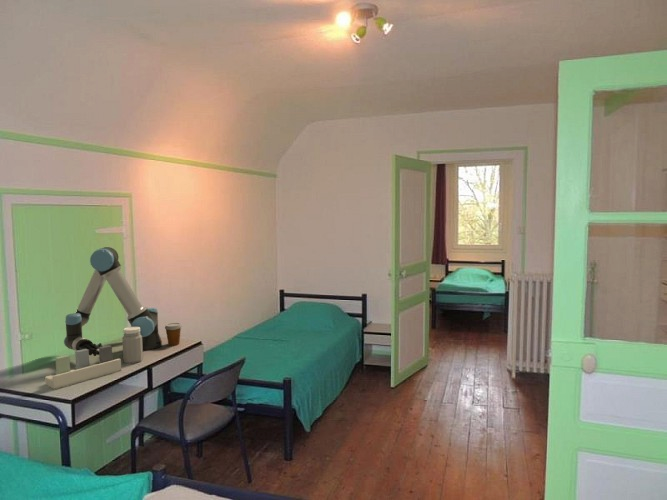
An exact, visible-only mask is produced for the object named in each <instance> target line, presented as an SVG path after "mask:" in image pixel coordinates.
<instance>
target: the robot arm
mask: <svg viewBox="0 0 667 500" xmlns="http://www.w3.org/2000/svg"><path fill="white" fill-rule="evenodd" d="M89 262H90V266H91V267H92V268H93V269H94V272H93V273H92V275H91V278H90V280H89V282H88V285H87V287H86V288H85V291H84V293H83V295H82V298H81V300H80V302H79V304H78V306H77V308H78V309H77V308H76V310H77V312H76V311H75V312H76V313H75V312H73V313H69V314H67V315H65V331H66V332H65V334H66V336H65V338H64V339H63V344H64V346H65V347H66V348H67V349H69V350H72V351H74V352H75V351H78V350H82V349H88V350H89V356H92V355H93V356H94V357H97V356H99V347H103V346H104V345H103V344H102V342H99V343H98V344H95V343H93V342H92V340H89V339H88V338H84V337H83V326H85V325H87V323H88V322H89V320H90V316H91V314H92V312H93V309H94V307H95V305H96V303H97V301H98V299H99V297H100V294H101V292H102V289H103V288H104V285H105V284H106V281H107V284H108V285H109V286H110V288H111V289H112V291H113V293H114V294H115V296H116V297H117V299H118V301H119V302H120V304H121V306H122V308H123V309H124V310H125V312H126V315H127V318H126V320H127V321H128V323H129V325H130V327H140V333H141V336H142V347H143V351H147V350H148V351H149V350H155V349H158V348H161V347H162V346H163V341H162V338H161V336H160V333H159V320H158V319H159V318H158V314H159V312H158V308H156V307H146V306H145V307H146V308H145V307H144V306H143V305H142V303H141V302H140V301H139V298H138V297H137V295H136V294H135V292H134V290H133V288H132V287H131V285H130V284H129V282H128V280H127V279H126V277H125V275H124V274H123V271H122V270H121V269H122V264H121V263H120V262H119V252H118V251H117V250H116V249H115V248H113V247H110V246H103V247H101V248H99V249H96V250H95V251H93V252H92V254H91V256H90V259H89Z"/></svg>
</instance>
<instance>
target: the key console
mask: <svg viewBox="0 0 667 500" xmlns="http://www.w3.org/2000/svg"><path fill="white" fill-rule="evenodd" d="M121 371H122V360H121V358H116V359H113V360H112V361H108V362H104V363H100V362H99V363H97V364H96V363H92V364H89V367H85V368H81V369H77V370H76V369H70V371H69V372H66V373H62V374H58V375H56V374H55V375H53V374H52V375H47V376H45V377H44V379H45V380H44V381H45V385H46V386H48V387H50V388H51V389H53V390H58V389H61V388H65V387H69V386H71V385H76V384H80V383H83V382H86V381H90V380H94V379H97V378H101V377H103V376H107V375H110V374H114V373H117V372H118V373H119V372H121Z"/></svg>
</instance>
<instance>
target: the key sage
mask: <svg viewBox="0 0 667 500" xmlns="http://www.w3.org/2000/svg"><path fill="white" fill-rule="evenodd" d="M70 370H71V359H70V355H68V354H64V355H62V356H56V357H55V375H58V374H62V373H66V372H69V371H70Z"/></svg>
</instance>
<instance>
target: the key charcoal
mask: <svg viewBox="0 0 667 500" xmlns="http://www.w3.org/2000/svg"><path fill="white" fill-rule="evenodd" d="M102 346H103V347H99V355H98V356H99V364H100V363H104V362H108V361H112V360H114V359H113V346H112V345H110V344H109V345H102Z"/></svg>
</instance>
